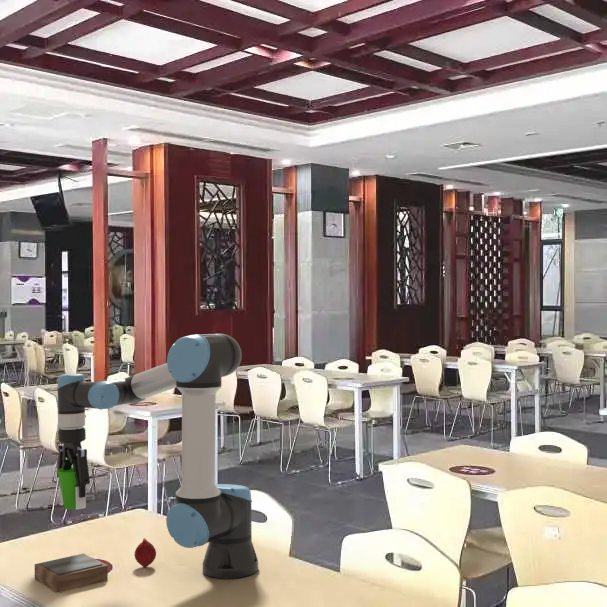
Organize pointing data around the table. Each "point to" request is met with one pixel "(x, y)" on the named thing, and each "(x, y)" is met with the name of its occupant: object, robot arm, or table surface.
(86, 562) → the flat stove
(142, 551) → the onion
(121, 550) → the table surface
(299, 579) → the table surface
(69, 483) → the cup
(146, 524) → the table surface
